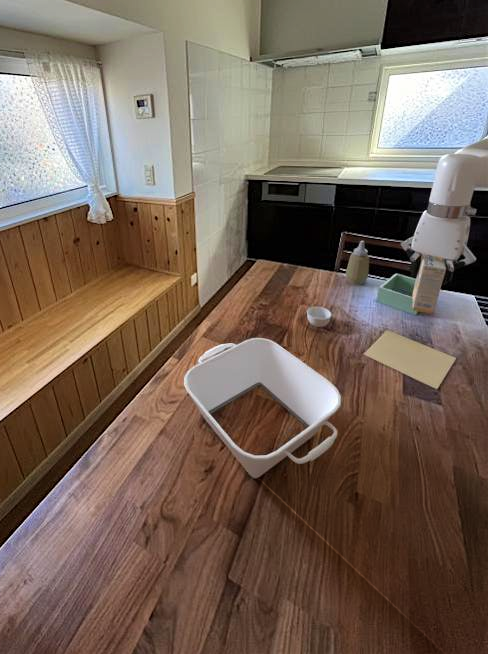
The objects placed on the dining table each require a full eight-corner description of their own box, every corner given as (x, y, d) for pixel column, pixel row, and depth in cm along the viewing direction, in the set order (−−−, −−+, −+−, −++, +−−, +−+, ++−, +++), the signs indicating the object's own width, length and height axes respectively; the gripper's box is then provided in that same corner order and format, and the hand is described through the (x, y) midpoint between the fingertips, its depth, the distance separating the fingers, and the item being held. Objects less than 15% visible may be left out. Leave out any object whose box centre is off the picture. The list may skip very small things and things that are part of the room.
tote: (430, 300, 120) (434, 284, 117) (415, 317, 112) (419, 300, 109) (392, 288, 129) (395, 273, 126) (375, 302, 121) (378, 287, 118)
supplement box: (411, 295, 93) (421, 251, 87) (432, 299, 90) (444, 254, 85) (411, 310, 86) (422, 264, 81) (433, 314, 84) (447, 268, 78)
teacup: (337, 334, 106) (339, 322, 104) (304, 333, 108) (305, 321, 106) (330, 316, 115) (331, 304, 113) (299, 315, 117) (300, 303, 115)
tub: (360, 453, 71) (370, 409, 65) (266, 536, 58) (269, 490, 53) (251, 361, 97) (252, 325, 92) (171, 405, 85) (167, 366, 80)
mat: (455, 360, 93) (456, 358, 92) (436, 392, 84) (437, 389, 83) (386, 332, 106) (386, 329, 105) (362, 356, 96) (363, 354, 96)
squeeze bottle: (350, 276, 139) (356, 235, 132) (370, 282, 134) (378, 240, 126) (340, 283, 135) (346, 241, 127) (360, 290, 129) (368, 247, 122)
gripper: (499, 213, 74) (475, 284, 81) (411, 200, 86) (397, 263, 93) (490, 221, 69) (466, 296, 77) (399, 207, 82) (386, 272, 89)
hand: (428, 277), depth 85 cm, fingers closed on supplement box, 6 cm apart
